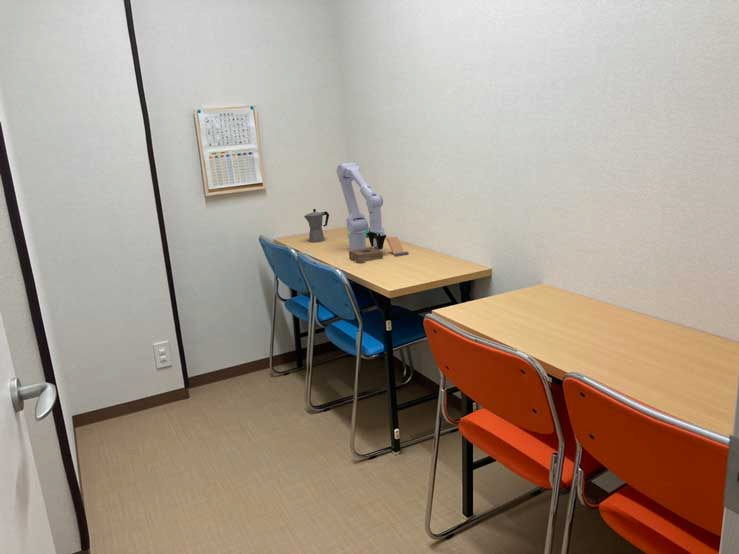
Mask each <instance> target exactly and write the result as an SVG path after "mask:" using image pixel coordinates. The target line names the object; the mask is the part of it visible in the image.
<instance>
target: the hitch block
mask: <svg viewBox="0 0 739 554" xmlns="http://www.w3.org/2000/svg"><path fill="white" fill-rule="evenodd" d="M383 253H384V252H383V251H382V250H381V249H380V250H377V249H375V248H374V247H371V246H370V247H366V248H363V249H357V250H348V256H349V257H348V258H349V260H351V261H353V260H354V261H353V262H355V261H356V262H355V263H357V262H358V263H357V264H359V263H361V264H366V262H370V261H375V260H381V259H384V256H383V255H384V254H383Z"/></svg>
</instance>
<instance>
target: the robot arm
mask: <svg viewBox="0 0 739 554" xmlns="http://www.w3.org/2000/svg"><path fill="white" fill-rule="evenodd" d="M360 169H361V168H360V166H359V165H358V163H357V162H356V161H353V162H347V163H346V162H345V163H339V164H338V165H337V168H336V174H337V179H338V181H339V182H340V186H341V189H342V193H343V197H344V200H345V201H344V202H345V204H346V208H347V211H348V214H349V215H348V217H347V218H346V219H345V221H346V229H347V231H348V233H350V235H349V236H348V245H349V247H348V248H347V249H348V251H351V250H357V249H363V248H367V245H366V244H367V242H366V238H365V232H366V230H367V229H368V232H369V233H366V234H367V236H366V237H367V238H368V240H369V243H370V247H372V248H374V244H373V238H376V241H377V246H378V249H379V250H380V251H381V250H383V248H384V243H385V240H386V239H387V235H386V234H385V228H383V227H382V224H383V223H382V210H381V208H382V206H383V204H384V200H383V199H384V198H383V197H382V195H381V194H378V193H377V192H376V191H375V190H374V189H373V187H372V186H371V184H369V183H366V181H365V179H364V178H363V176H362V174H361V172H360ZM353 181H354V182H355V183H356V184H357V186H358V187H359V193H360V194H361V195H362V196H363V198H364V199H365V200H366V201H365V204H366V208H367V211H368V215H369V216H368V217H369V222H368V220H367V218H366V216H365V215H364V214H363V213H361V212H360V209H359V206H358V201H357V198H356V195H355V192H354V188H353V184H352V183H353Z"/></svg>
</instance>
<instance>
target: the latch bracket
mask: <svg viewBox="0 0 739 554" xmlns="http://www.w3.org/2000/svg"><path fill="white" fill-rule="evenodd" d="M408 255H410V253H409V251H404V252H401V253H395V254H393V256H394V257H395V258H396V257H397V258H398V257H404V256H408Z"/></svg>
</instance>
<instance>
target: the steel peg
mask: <svg viewBox="0 0 739 554" xmlns="http://www.w3.org/2000/svg"><path fill="white" fill-rule="evenodd" d="M373 244H374V247H373V248H375V249H377V250H379V249H378V246H377V241H376V238H373Z"/></svg>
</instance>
